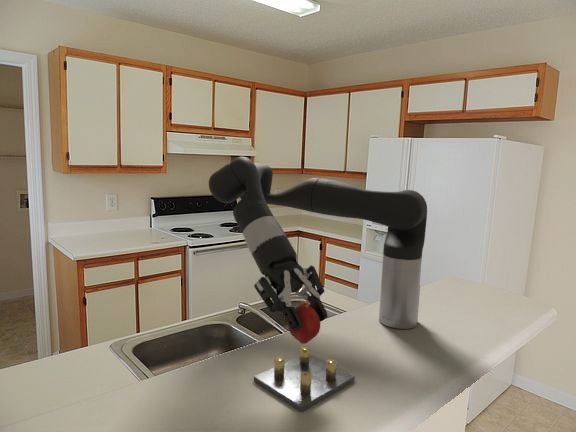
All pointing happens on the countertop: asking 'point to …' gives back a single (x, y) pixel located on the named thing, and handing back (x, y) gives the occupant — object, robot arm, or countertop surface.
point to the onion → (306, 323)
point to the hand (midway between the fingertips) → (311, 323)
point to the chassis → (304, 379)
